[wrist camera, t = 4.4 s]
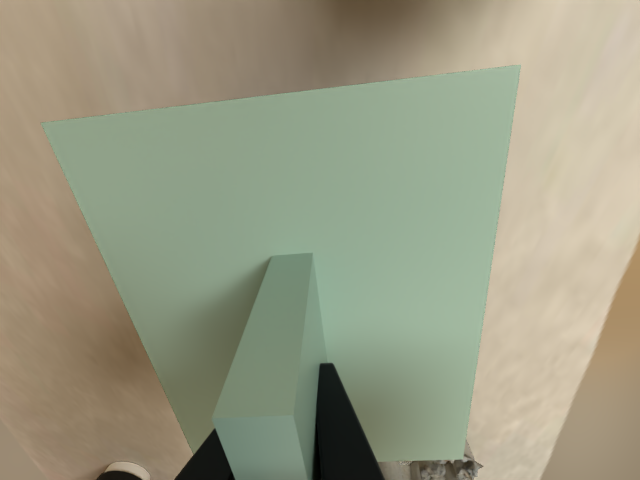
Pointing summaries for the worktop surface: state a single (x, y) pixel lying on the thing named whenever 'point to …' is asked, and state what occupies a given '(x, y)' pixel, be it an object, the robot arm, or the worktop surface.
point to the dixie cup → (124, 472)
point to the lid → (305, 256)
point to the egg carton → (433, 469)
